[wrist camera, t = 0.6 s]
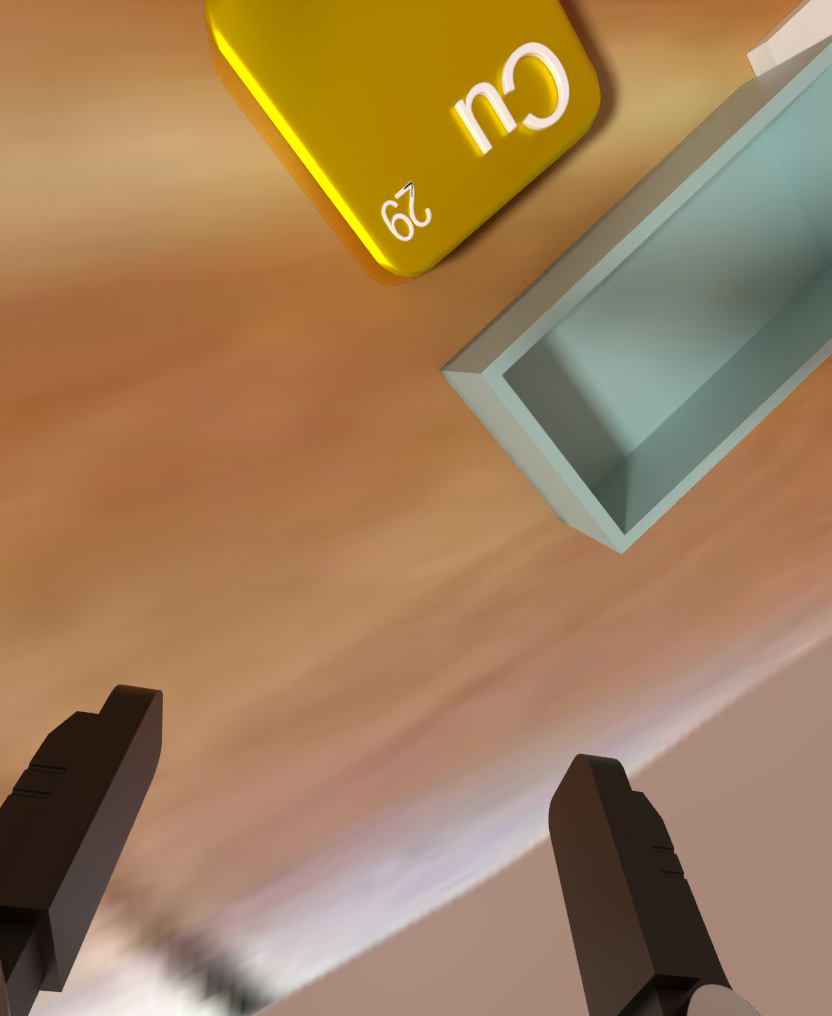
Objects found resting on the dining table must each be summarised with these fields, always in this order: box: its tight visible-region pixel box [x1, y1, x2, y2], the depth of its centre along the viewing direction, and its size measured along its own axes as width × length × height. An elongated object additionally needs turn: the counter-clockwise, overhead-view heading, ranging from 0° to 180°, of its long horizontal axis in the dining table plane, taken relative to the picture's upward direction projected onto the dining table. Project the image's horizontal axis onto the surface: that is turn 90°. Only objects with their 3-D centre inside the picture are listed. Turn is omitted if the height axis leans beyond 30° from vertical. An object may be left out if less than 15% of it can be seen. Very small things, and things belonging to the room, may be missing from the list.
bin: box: [439, 35, 832, 554], centre depth 34 cm, size 26×14×7 cm, turn 131°
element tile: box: [205, 0, 601, 286], centre depth 29 cm, size 15×15×5 cm
